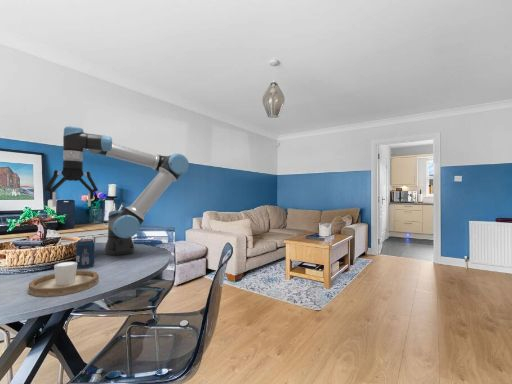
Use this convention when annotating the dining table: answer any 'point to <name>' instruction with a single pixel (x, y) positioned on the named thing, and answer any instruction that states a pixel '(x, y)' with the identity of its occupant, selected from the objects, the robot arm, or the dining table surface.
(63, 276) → the shot glass
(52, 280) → the round tray
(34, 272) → the dining table surface
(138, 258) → the dining table surface
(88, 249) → the dark blue box
